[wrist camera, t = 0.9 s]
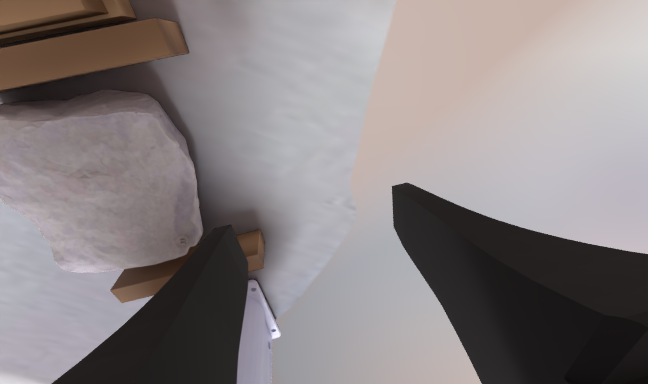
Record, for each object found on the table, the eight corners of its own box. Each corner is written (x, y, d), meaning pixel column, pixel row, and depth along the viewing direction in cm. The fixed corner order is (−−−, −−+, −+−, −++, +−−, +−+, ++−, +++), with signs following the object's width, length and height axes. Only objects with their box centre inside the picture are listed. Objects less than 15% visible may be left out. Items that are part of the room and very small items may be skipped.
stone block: (171, 77, 17) (-22, 100, 14) (160, 89, 13) (-106, 123, 11) (222, 217, 24) (94, 250, 21) (224, 252, 20) (68, 299, 17)
